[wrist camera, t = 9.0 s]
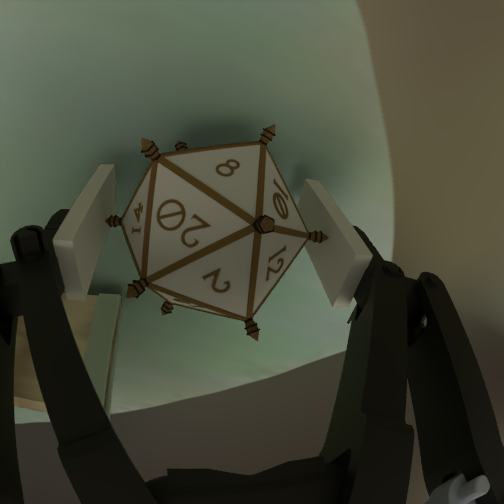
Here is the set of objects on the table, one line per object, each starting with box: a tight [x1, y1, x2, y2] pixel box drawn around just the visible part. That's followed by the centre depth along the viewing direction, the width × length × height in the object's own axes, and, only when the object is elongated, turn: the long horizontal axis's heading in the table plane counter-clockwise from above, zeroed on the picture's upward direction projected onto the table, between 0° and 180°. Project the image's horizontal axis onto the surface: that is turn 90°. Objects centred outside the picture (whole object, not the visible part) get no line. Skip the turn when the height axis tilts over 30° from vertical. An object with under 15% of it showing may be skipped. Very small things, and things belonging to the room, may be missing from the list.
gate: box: [14, 293, 123, 420], centre depth 17 cm, size 13×2×9 cm, turn 80°
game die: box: [105, 125, 329, 341], centre depth 13 cm, size 9×8×10 cm
